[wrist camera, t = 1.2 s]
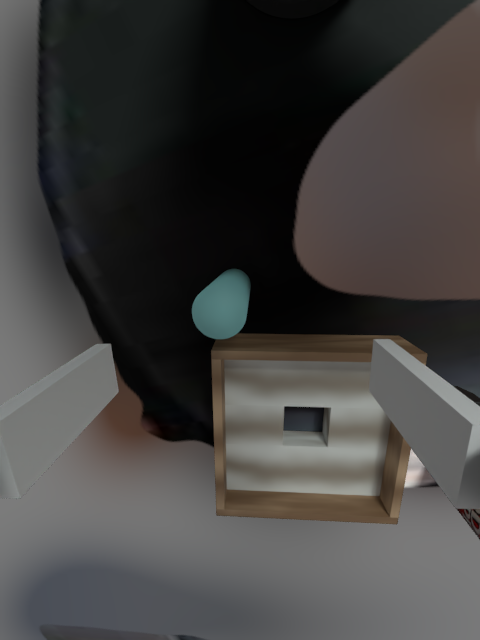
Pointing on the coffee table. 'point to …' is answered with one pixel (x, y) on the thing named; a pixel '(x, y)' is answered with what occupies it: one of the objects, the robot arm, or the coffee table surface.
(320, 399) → the wooden box with hole
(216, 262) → the coffee table surface
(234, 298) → the teal peg
